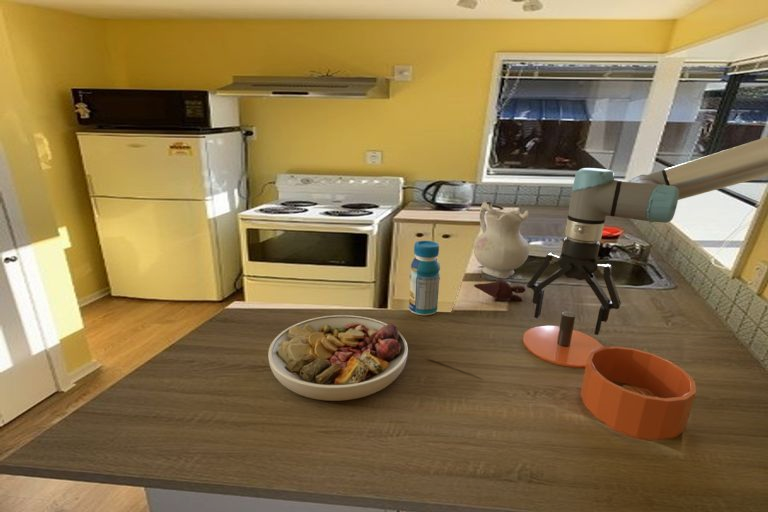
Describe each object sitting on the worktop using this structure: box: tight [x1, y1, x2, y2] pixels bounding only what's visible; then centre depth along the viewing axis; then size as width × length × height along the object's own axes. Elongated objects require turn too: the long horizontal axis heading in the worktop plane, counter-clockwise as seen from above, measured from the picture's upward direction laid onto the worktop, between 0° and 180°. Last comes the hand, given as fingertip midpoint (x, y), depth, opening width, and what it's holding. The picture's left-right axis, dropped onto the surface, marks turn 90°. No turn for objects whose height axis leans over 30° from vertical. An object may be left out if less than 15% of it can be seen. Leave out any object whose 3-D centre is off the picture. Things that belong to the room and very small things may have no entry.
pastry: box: [619, 384, 658, 397], centre depth 82 cm, size 9×7×4 cm
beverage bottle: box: [408, 240, 441, 316], centre depth 119 cm, size 8×8×20 cm
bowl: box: [267, 314, 409, 402], centre depth 93 cm, size 30×30×8 cm
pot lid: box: [522, 311, 604, 369], centre depth 102 cm, size 19×19×9 cm
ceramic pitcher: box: [473, 199, 531, 279], centre depth 151 cm, size 22×20×25 cm
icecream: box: [473, 278, 526, 302], centre depth 129 cm, size 7×7×15 cm
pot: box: [579, 345, 697, 442], centre depth 81 cm, size 18×18×8 cm
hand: (566, 324), depth 102 cm, fingers open, 13 cm apart
